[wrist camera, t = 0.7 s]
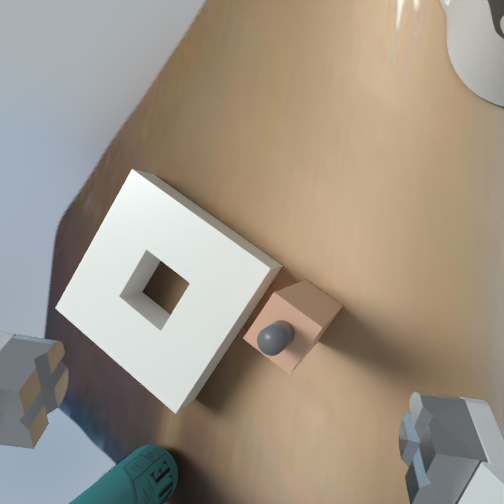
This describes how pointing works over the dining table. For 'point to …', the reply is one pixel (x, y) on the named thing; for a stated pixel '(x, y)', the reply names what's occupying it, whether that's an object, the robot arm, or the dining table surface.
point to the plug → (292, 323)
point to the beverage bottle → (135, 480)
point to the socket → (150, 313)
